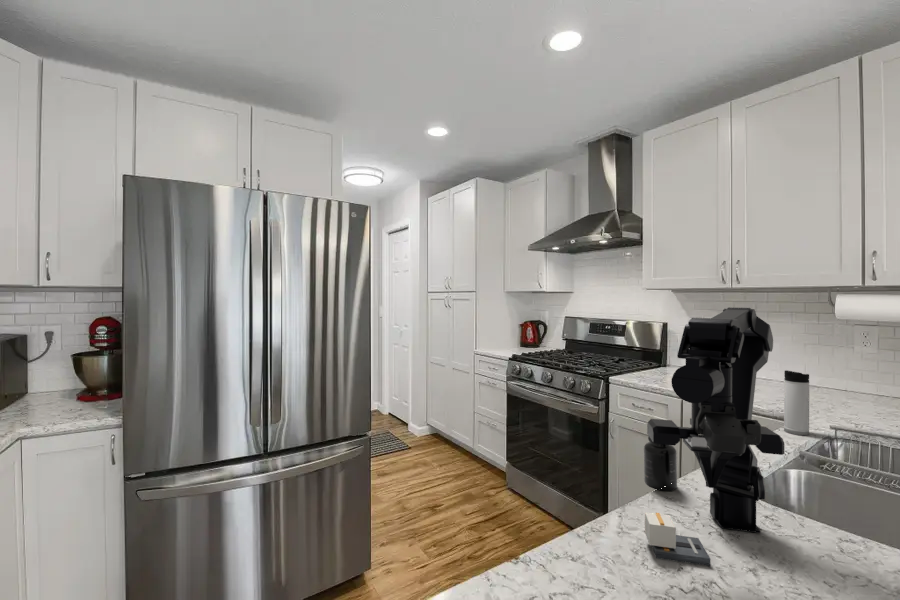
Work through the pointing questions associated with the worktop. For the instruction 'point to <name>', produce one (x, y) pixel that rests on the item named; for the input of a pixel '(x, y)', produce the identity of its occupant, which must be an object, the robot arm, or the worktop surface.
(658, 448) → the supplement bottle
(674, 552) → the panel
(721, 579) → the worktop surface
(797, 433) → the travel mug
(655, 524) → the block
